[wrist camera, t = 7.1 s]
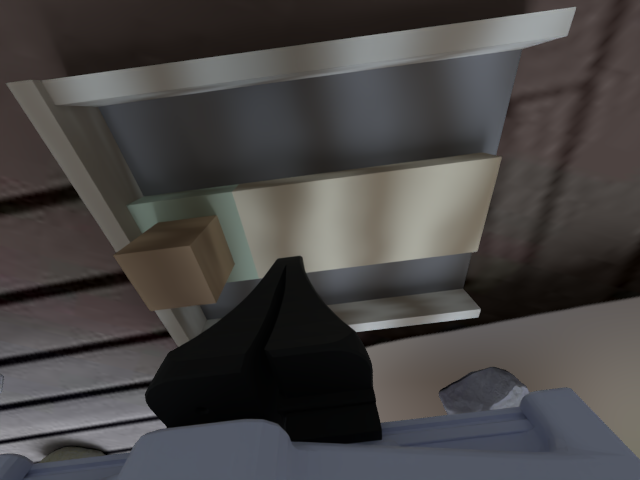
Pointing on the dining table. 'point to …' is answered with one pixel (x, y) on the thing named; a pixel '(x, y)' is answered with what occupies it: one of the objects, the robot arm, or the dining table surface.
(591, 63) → the dining table surface
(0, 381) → the can
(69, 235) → the dining table surface
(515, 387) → the stone block
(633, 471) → the robot arm
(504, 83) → the box
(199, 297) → the walnut cube
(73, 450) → the sea urchin shell
